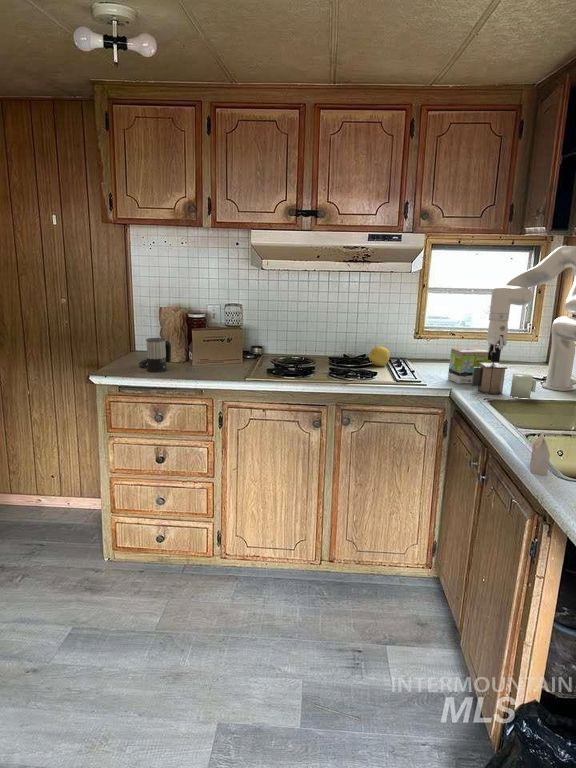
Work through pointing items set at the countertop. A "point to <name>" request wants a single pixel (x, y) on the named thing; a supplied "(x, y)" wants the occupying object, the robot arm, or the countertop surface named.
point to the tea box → (465, 363)
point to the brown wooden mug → (489, 378)
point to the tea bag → (540, 456)
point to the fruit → (379, 356)
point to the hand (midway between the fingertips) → (493, 360)
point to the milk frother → (157, 355)
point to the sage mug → (522, 385)
